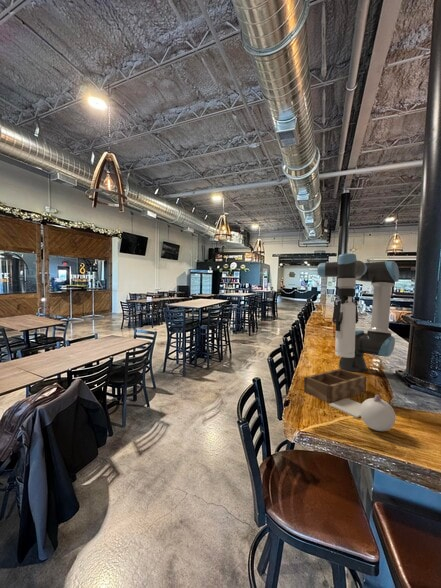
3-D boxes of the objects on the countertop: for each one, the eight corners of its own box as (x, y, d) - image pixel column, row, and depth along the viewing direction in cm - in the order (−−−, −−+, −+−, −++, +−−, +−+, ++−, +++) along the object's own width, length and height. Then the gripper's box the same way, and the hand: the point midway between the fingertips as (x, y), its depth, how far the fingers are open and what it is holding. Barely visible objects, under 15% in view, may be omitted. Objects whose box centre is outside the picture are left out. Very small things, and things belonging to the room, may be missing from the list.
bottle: (332, 355, 120) (333, 294, 119) (338, 352, 125) (340, 294, 125) (351, 358, 114) (352, 294, 114) (357, 355, 120) (358, 294, 119)
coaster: (346, 399, 114) (346, 398, 114) (374, 410, 104) (374, 409, 104) (328, 405, 108) (328, 404, 108) (356, 418, 98) (356, 416, 98)
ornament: (381, 440, 83) (382, 403, 83) (353, 424, 93) (354, 391, 92) (401, 433, 87) (402, 397, 87) (373, 419, 97) (373, 387, 97)
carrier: (339, 382, 135) (339, 368, 135) (366, 391, 123) (366, 376, 123) (304, 392, 122) (304, 377, 122) (330, 403, 110) (330, 387, 110)
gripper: (352, 288, 128) (351, 334, 128) (323, 287, 117) (322, 337, 118) (368, 288, 121) (366, 337, 121) (338, 287, 111) (337, 340, 111)
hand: (345, 337), depth 120 cm, fingers closed on bottle, 8 cm apart
